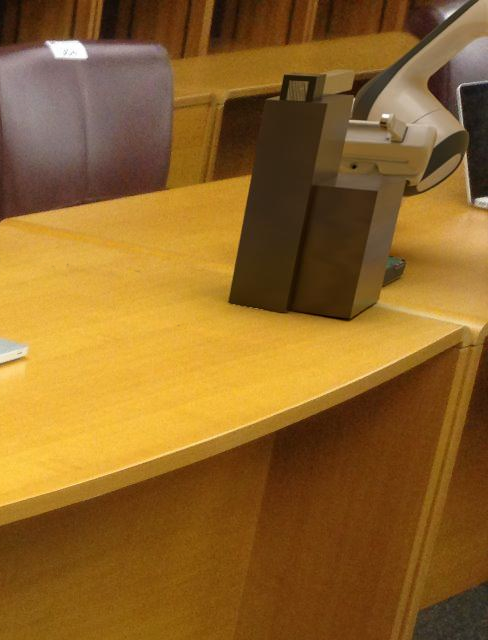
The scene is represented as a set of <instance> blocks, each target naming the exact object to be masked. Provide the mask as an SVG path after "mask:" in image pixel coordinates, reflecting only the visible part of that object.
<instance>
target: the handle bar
mask: <svg viewBox="0 0 488 640" xmlns="http://www.w3.org/2000/svg"><path fill="white" fill-rule="evenodd" d="M355 75H356V70H355V69H333V70H332V69H331V70H327V71H324V72H320V73H312V72H289V73H284V74H283V76H282V77H283V78H282V83H281V88H280V92H279V96H280V98H279V100H287V101H303V102H314V101H318V100H321V99H322V97H325V96H328V95H332V94H340V93H343V92H348V91H352V89H353V85H354V80H355Z"/></svg>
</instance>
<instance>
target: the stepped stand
mask: <svg viewBox="0 0 488 640" xmlns="http://www.w3.org/2000/svg"><path fill="white" fill-rule="evenodd" d="M279 98H280V95H277V96H274V97H269V98H266V99H265V100H264V106H263V112H262V115H261V116H262V117H261V121H260V126H259V132H258V138H257V144H256V149H255V150H256V151H255V155H254V160H253V166H252V171H251V176H250V182H249V188H248V192H247V197H246V204H245V208H244V214H243V220H242V225H241V231H240V235H239V242H238V246H237V252H236V257H235V263H234V268H233V274H232V279H231V285H230V290H229V294H228V295H229V296H228V301H227V304H228V303H230V304H229V305H233V304H235V305H234V306H238V305H240V306H239V307H244V306H246V307H245V308H249V307H252V308H251V309H255V308H258V309H257V310H260V309H263V310H262V311H266V310H268V311H267V312H273V311H274V312H273V313H275V312H276V313H281V312H282V313H281V314H286V313H288V312H297V313H298V312H299V313H304V314H305V313H306V314H313V315H320V316H327V317H335V318H343V319H349V320H350V319H352V318H353V317H355V316H356V315H358V314H360V313H361V312H363V311H364V310H366V309H367V308H369V307H370V306H372V305H374V304H375V303H377V302H378V301H380V297H381V293H382V288H383V285H382V284H383V280H384V275H385V271H386V267H387V262H388V258H389V256H390V253H391V250H392V244H393V240H394V235H395V231H396V227H397V223H398V218H399V213H400V210H401V209H400V205H401V201H402V196H403V192H404V188H405V183H406V179H407V178H404V177H392V176H381V175H369V174H358V173H344V174H342V175H339V176H338V172H339V167H340V162H341V158H342V153H343V148H344V143H345V138H346V134H347V129H348V124H349V119H350V114H351V110H352V105H353V100H354V98H355V95H354V94H352V95H351V94H339V93H336V94H332V95H328V96H325V97H322V99H321V100H318V101H314V102H303V101H287V100H279Z"/></svg>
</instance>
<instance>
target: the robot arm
mask: <svg viewBox="0 0 488 640" xmlns="http://www.w3.org/2000/svg"><path fill="white" fill-rule="evenodd" d="M484 37H488V0H467V1H466V2H465V3H464V4H462V5H461V6H460V7H459V8H457V9H456V10H455V11H454V12H452V13H451V14H449V16H448V17H447V18H445V19H444V20H443V21H442V22H441V23H440V24H438V25H437V26H436V27H435V28H433V30H431V31H430V32H429V33H428V34H426V36H424V37H423V39H421V40H420V41H419V42H418V43H416V44H415V45H414V46H413V47H412V48H411V49H409V50H408V51H407V52H406V53H404V54H403V56H401V57H400V58H399V59H397V60H396V61H395V62H394V63H392V64H391V65H389V66H388V67H386V68H385V69H384V70H382V71H380V72H379V73H378V74H376V75H375V76H373V77H372V78H371V79H369V80H368V81H367V82H366V83H365V84H364V85H363V86H362V87H361V88H360V89H359V90H358V92H357V93H356V95H355V96H354V98H355V100H354V104H353V110H352V120H349V124H348V129H347V134H346V138H345V143H344V148H343V153H342V158H341V162H340V167H339V172H338V176H339V175H342V174H344V173H358V174H369V175H381V176H392V177H404V178H407V179H406V183H405V188H404V192H403V196H402V201H401V205H400V210H401V209H402V208H403V206H404V205H405V203H406V202H407V200H408V199H409V198H411V197H415V196H418V195H422V194H424V193H426V192H429V191H431V190H432V189H434V188H437V186H439V185H440V184H442V183H443V182H445V181H446V180H447V179H448V178H449V177H451V176H452V174H454V173H455V172H456V171H457V170H458V169H459V167H460V165H461V164H462V162H463V161H464V160H463V159H465V156H466V153H467V150H468V147H469V142H470V133H469V131H467V129H466V128H465V127H464V126H463V125H462V124H461V122H459V120H458V119H457V118H456V117H455V116H454V115H453V114H452V113H451V112H450V111H449V110H448V109H447V108H445V106H444V105H443V104H442V103H441V102H440V101H439V99H437V98H436V97H435V95H434V94H433V93H432V92H431V91H430V90H429V88H428V82H429V79H430V77H432V76H433V75H434V74H435V73H436V72H437V71H439V69H441V68H443V66H445V65H446V64H448V62H449V61H451V60H452V59H453V58H454V57H455V56H457V55H458V54H459V53H460V52H461V51H463V50H464V49H465V48H466V47H468V46H469V45H470V44H471V43H473V42H474V41H476V40H479V39H481V38H484Z"/></svg>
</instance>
